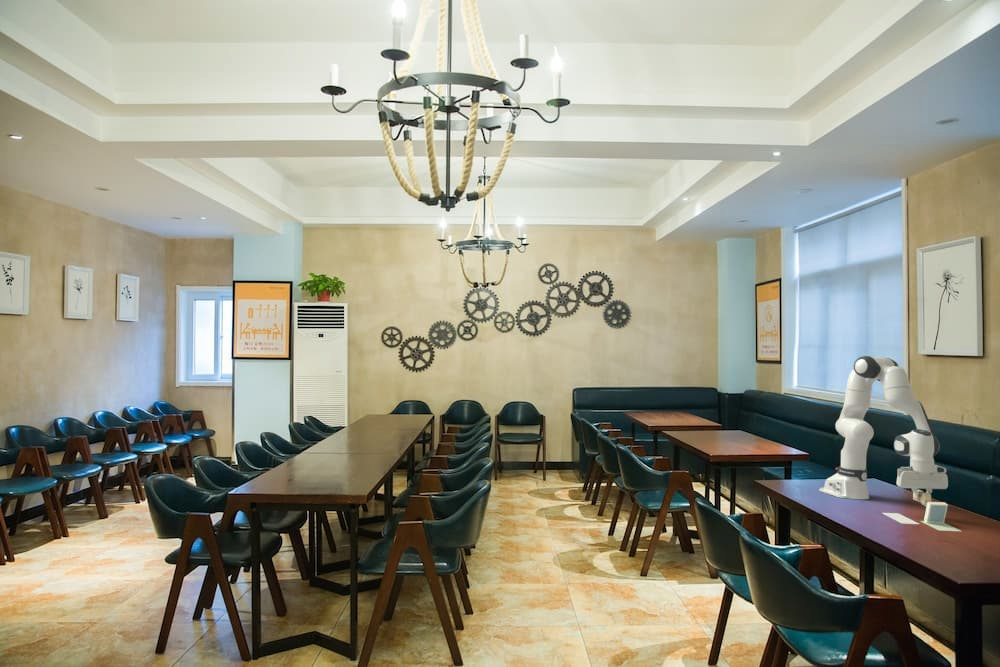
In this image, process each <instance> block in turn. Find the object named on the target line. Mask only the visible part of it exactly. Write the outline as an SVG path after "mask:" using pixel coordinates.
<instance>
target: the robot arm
mask: <svg viewBox="0 0 1000 667" xmlns="http://www.w3.org/2000/svg"><path fill="white" fill-rule="evenodd" d="M853 363H854V364H853V369H852V370H851V371H850V372H849V375H848V378H847V382H846V387H845V393H844V394H845V395H844V402H843V406H842V409H841V413H840V415H839V418H838V419H837V420H836V422H835V430H836V432H837V433H838V434H839V435H840V436H842V437H843V438H845V439H844V445H843V447H842V449H841V450H840V465H839V466H837V467H835V469H834V470H837V471H836V473H834V474H833V475H832V476H830V477H828V478H826V480H825V482H824V485H823V487H819V490H818V491H819V492H822V493H824V494H828V495H832V496H834V497H837V498H840V499H852V500H869V499H870V496H869V492H868V487H867V477H868V469H867V452H868V449H869V444H870V441H872V439H873V437H874V434H875V433H874V428H873V427H872V425H870V424H869V422H867V421H865V420H864V418H865V415H866V413H867V412H868V411H869V409H870V405H871V398H872V387H873V384H874V382H876V381H878V382H881V385H882V390H883V395H884V399H885V401H886V403H887V404H888V405H889V406H890V407H892V408H894V409H896V410H899V411H902V412H904V413H905V414H908V415H909V416H910V417H911V418H912V420H913V422H914V424H915V427H916V428H915V429H912V430H911V431H910V432H908V433H905V434H901V435H900V434H898V435H897V436H895V438H894V440H893V449H894V451H895V453H897V454H898V455H899V456H903V457H904V456H906V457H909V458H910V459H909V466H900V467H899V468H897V469H896V470H897V473H896V474H897V477H896V482H895V483H896V486H897V487H898V488H901V489H911V491H912V494H913V493H914V497H915V498H917V499H920V495H919V494H918V493H917V491H918V490H921V489H923V490H926V493H928V494H930V495H932V492H933V490H947V488H948V487H949V480H948V479H949V478H948V475H947V468H946V467H944V466H940V465H938V464H937V463H936V464H935V459H934V457H935V456H936V455H937V454H938V453H939V452H940V449H941V445H940V441H939V440H938V438H937V436H936V435H935V433H934V431H933V429H932V425H931V422H930V420H929V418H928V415H927V413H926V409H925V407H924V406H923V404H922V402H921V401H920V400H918V399H917V398H916V397H915V395H914V393H913V391H912V388H911V383H910V381H909V380H910V379H909V378H908V375H907V373H906V370H905V369H904V368H903V367H901V366H899V364H898V363H897V361H895V360H894V359H892V358H889V357H883V356H868V355H864V356H860V357H857V359H856V360H855V361H854V362H853Z"/></svg>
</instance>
